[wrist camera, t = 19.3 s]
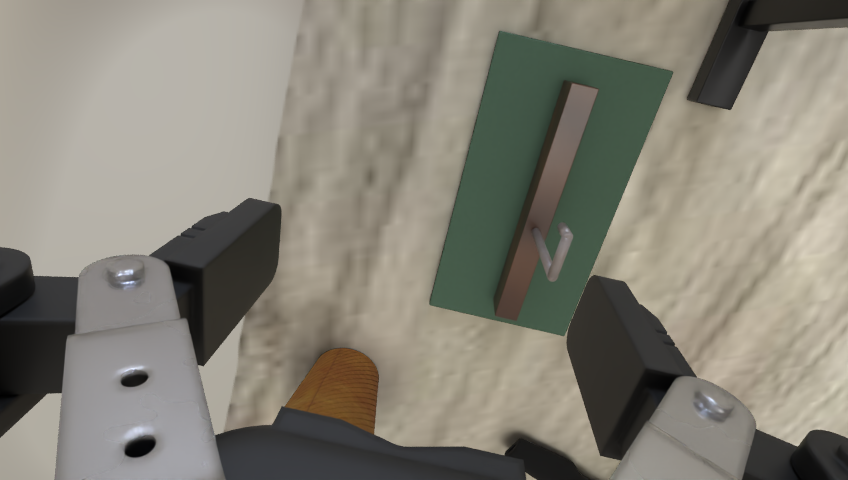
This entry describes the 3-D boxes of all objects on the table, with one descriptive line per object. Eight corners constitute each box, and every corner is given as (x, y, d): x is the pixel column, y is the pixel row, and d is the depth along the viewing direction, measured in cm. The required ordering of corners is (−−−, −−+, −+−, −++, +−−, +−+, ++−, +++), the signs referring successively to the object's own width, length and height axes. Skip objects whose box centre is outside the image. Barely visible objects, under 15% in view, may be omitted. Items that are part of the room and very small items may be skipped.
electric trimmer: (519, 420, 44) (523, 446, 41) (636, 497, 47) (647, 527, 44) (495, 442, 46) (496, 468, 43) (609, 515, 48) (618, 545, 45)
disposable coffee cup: (378, 424, 46) (350, 544, 35) (288, 393, 45) (231, 505, 34) (409, 354, 42) (389, 462, 31) (312, 319, 41) (256, 417, 30)
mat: (499, 30, 31) (499, 30, 30) (670, 71, 31) (673, 71, 30) (429, 301, 40) (429, 305, 39) (563, 332, 40) (564, 336, 39)
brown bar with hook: (563, 79, 31) (603, 93, 22) (589, 85, 31) (639, 101, 22) (492, 299, 38) (501, 377, 29) (513, 304, 38) (528, 384, 29)
